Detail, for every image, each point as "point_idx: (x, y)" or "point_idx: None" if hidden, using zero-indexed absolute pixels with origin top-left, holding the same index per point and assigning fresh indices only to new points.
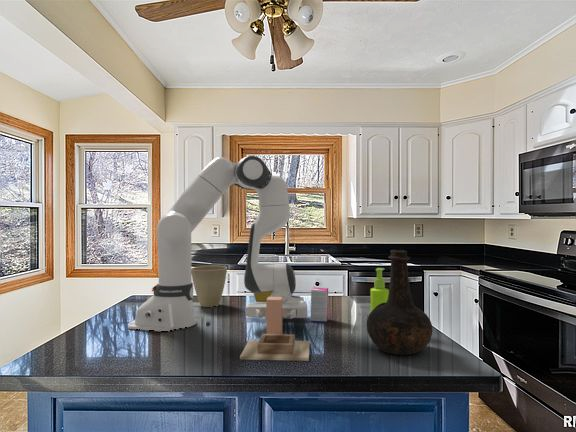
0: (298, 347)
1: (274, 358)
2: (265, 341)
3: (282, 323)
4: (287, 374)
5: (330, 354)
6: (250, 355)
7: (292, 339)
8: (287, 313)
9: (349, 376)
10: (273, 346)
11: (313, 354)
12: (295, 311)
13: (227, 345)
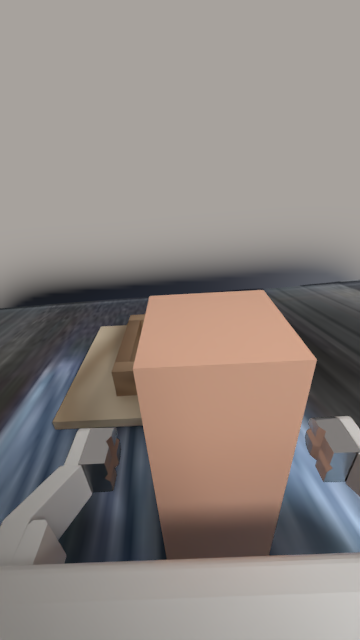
0: (111, 366)
1: None
2: None
3: (162, 532)
4: (148, 299)
5: (34, 361)
6: None
7: (126, 338)
8: (113, 428)
9: (54, 304)
10: None
11: (79, 357)
12: (18, 515)
13: (353, 386)
